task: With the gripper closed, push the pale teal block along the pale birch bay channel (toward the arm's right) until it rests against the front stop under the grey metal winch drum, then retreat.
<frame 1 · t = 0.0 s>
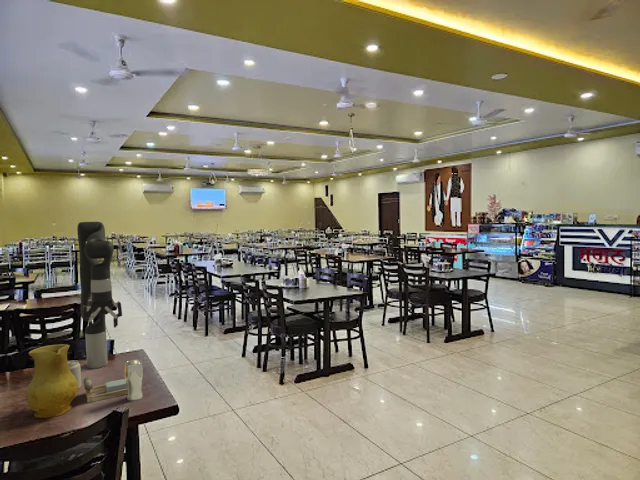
hand: (103, 328, 174), 29 cm above the table, fingers open, 8 cm apart
bay: (108, 393, 181), on the table
pale teal block: (117, 391, 183), on the table
pitcher: (54, 409, 167), on the table
can: (71, 389, 186), on the table
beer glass: (134, 397, 176), on the table
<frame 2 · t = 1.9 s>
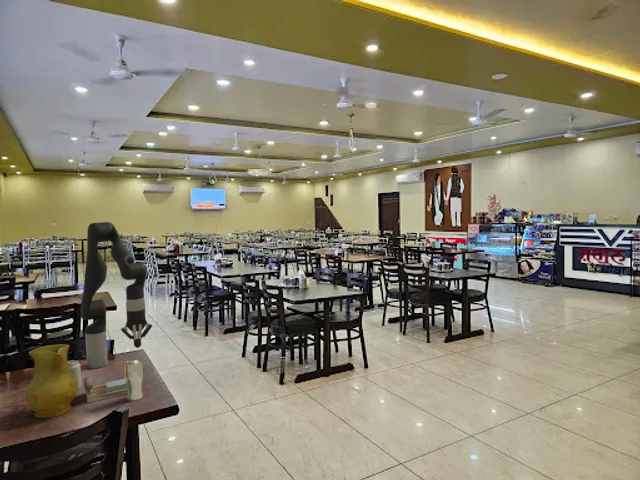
hand: (137, 347, 186), 18 cm above the table, fingers closed
nothing on the table moved.
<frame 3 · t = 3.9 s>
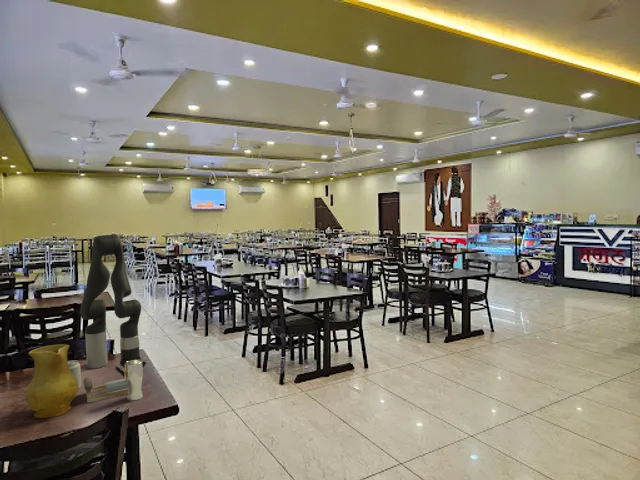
hand: (131, 384, 186), 2 cm above the table, fingers closed
pale teal block: (116, 392, 183), on the table, touching gripper
everything else where it was.
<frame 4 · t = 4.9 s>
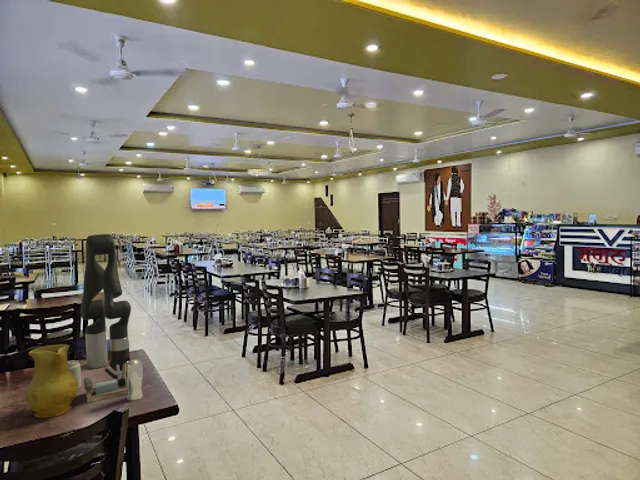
hand: (121, 386, 183), 2 cm above the table, fingers closed
pale teal block: (106, 393, 182), on the table, touching gripper
everything else where it was.
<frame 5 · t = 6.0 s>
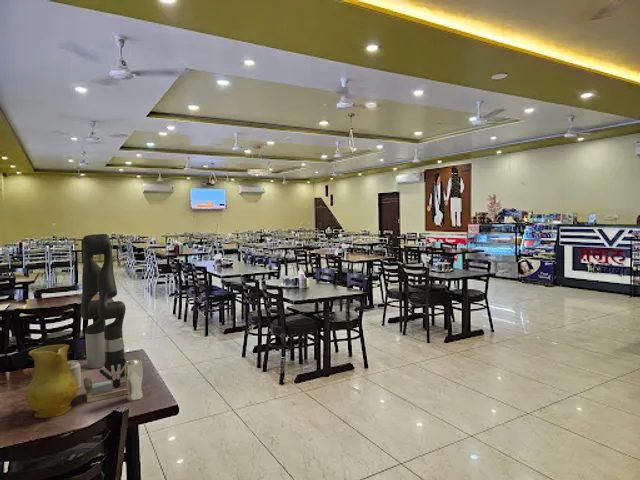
hand: (116, 387, 182), 2 cm above the table, fingers closed
pale teal block: (101, 393, 181), on the table, touching gripper
everything else where it was.
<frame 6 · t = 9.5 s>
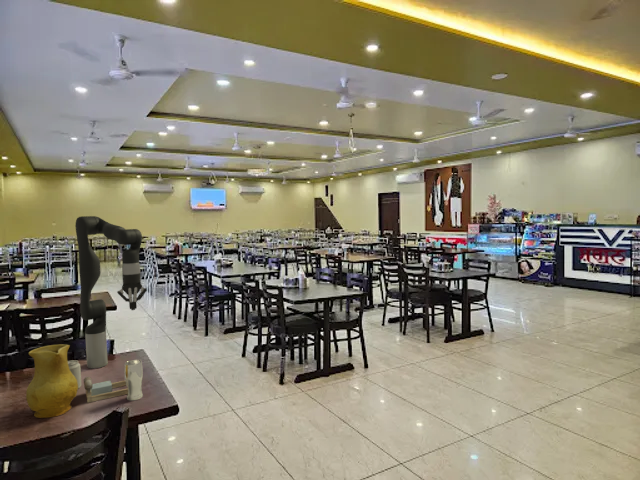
hand: (133, 309, 196), 32 cm above the table, fingers closed
pale teal block: (101, 394, 181), on the table
everything else where it was.
at the end: pale teal block 1.4 cm from the target spot, on the table; pale teal block tilted 0°; pale teal block moved 6.2 cm from its start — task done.
